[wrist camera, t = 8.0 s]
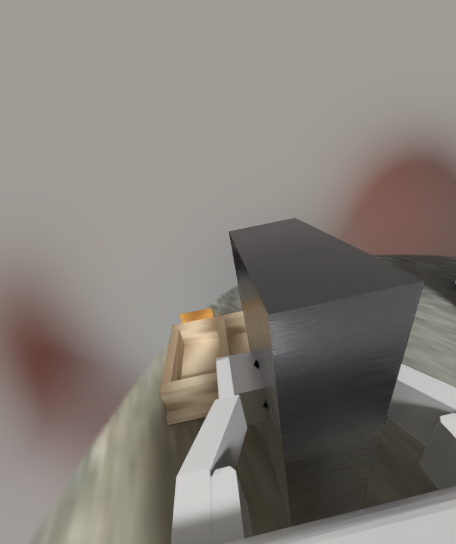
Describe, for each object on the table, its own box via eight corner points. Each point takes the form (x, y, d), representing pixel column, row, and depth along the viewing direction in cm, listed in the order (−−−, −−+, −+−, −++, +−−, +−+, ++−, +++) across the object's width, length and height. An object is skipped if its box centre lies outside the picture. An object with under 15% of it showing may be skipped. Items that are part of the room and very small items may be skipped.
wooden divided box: (267, 323, 32) (265, 295, 30) (300, 396, 21) (299, 361, 19) (179, 341, 31) (170, 315, 29) (168, 425, 21) (152, 393, 19)
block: (300, 410, 13) (295, 218, 8) (353, 534, 9) (424, 280, 3) (261, 419, 13) (228, 231, 8) (294, 549, 8) (268, 314, 3)
